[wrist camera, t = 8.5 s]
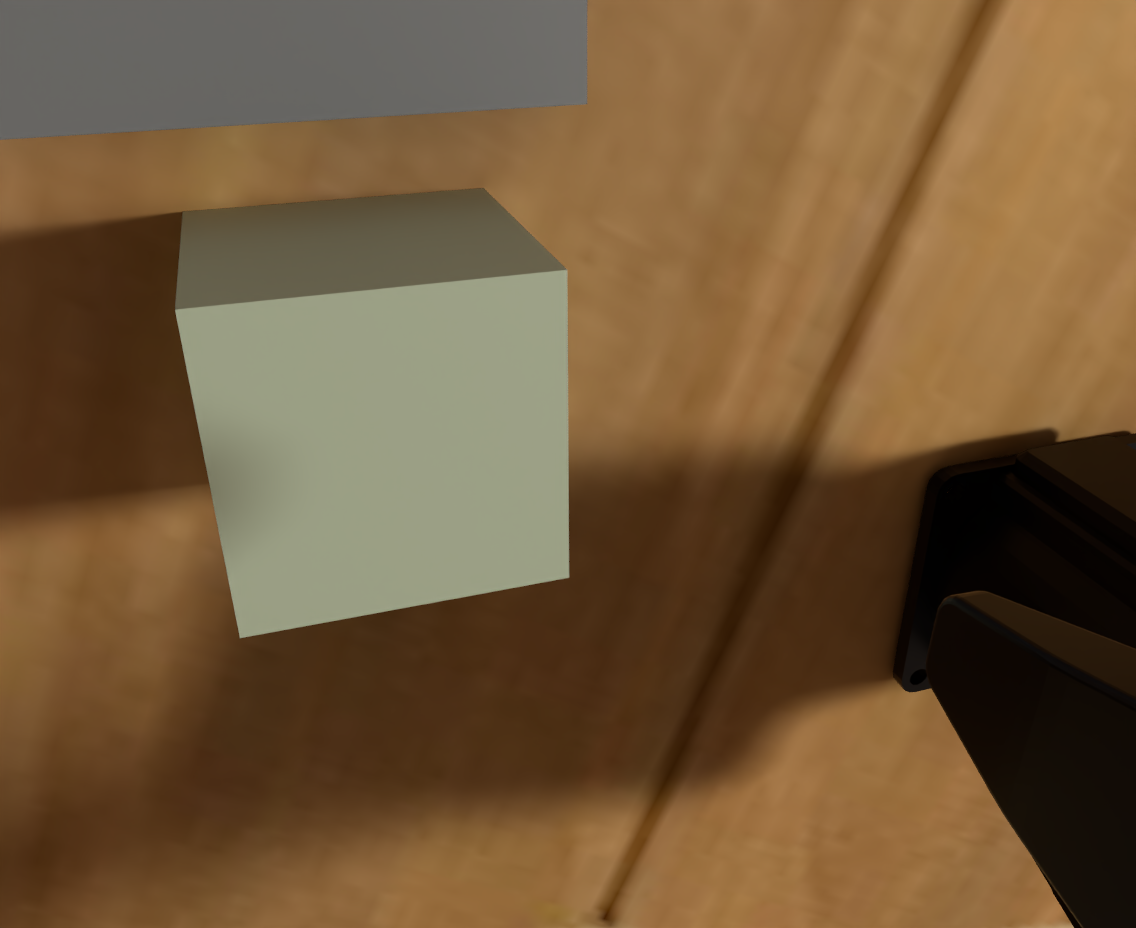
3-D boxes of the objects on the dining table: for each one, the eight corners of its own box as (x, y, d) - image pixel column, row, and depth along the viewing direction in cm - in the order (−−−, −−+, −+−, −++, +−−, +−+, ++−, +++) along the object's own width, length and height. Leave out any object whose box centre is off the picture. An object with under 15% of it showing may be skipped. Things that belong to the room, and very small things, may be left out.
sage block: (494, 440, 20) (569, 577, 16) (232, 478, 19) (240, 638, 15) (482, 186, 18) (567, 269, 14) (182, 210, 17) (175, 309, 12)
